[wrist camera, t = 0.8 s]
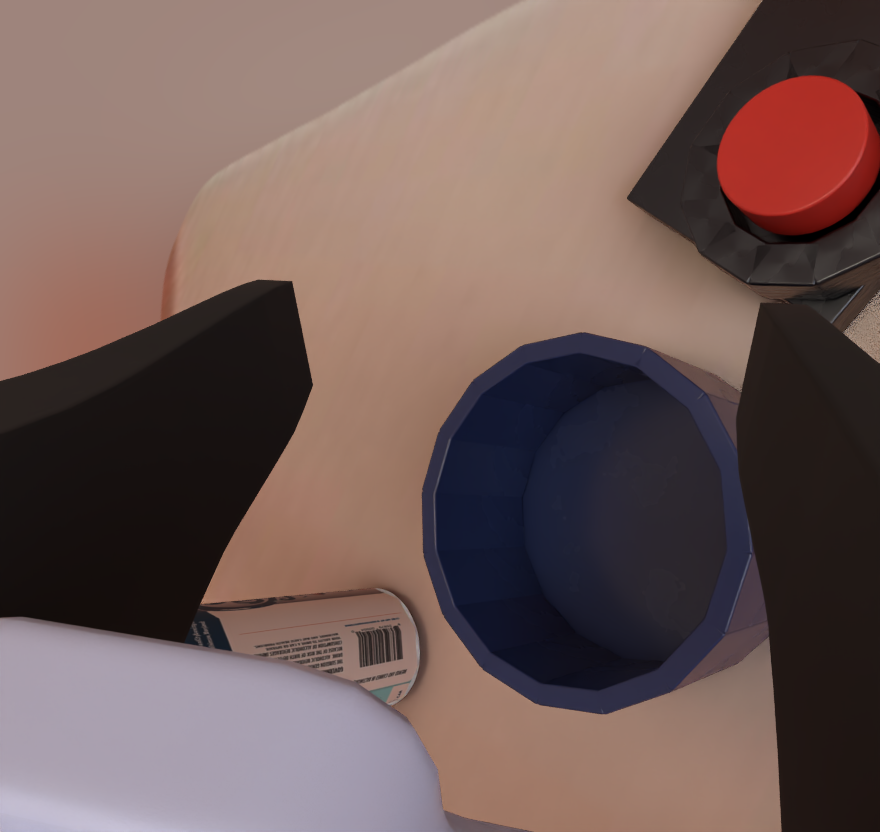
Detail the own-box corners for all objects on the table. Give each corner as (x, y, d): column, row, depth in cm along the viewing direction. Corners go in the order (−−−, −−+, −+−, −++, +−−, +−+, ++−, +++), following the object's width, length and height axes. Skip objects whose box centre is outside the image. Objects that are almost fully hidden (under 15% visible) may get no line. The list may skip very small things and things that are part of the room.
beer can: (373, 565, 32) (101, 582, 23) (445, 632, 29) (166, 681, 20) (333, 656, 33) (58, 706, 24) (399, 729, 30) (113, 818, 21)
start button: (796, 84, 20) (777, 53, 19) (916, 136, 18) (904, 106, 17) (711, 199, 22) (688, 178, 20) (816, 260, 20) (797, 241, 18)
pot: (894, 508, 20) (849, 505, 16) (659, 747, 23) (573, 795, 19) (630, 308, 26) (546, 268, 22) (472, 523, 29) (374, 524, 25)
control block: (844, -78, 23) (819, -146, 20) (1149, 5, 18) (1160, -70, 16) (638, 216, 26) (596, 187, 24) (846, 352, 21) (820, 332, 19)
